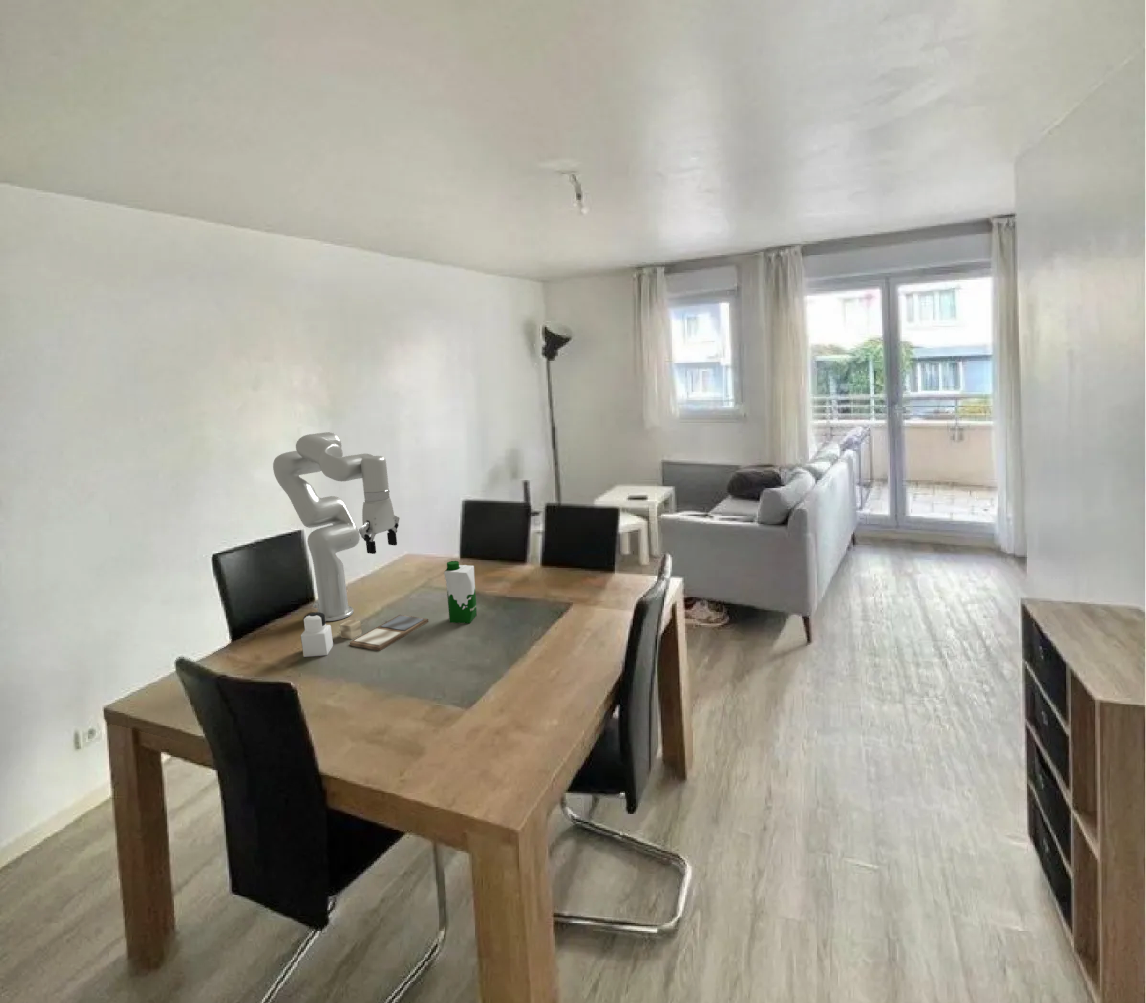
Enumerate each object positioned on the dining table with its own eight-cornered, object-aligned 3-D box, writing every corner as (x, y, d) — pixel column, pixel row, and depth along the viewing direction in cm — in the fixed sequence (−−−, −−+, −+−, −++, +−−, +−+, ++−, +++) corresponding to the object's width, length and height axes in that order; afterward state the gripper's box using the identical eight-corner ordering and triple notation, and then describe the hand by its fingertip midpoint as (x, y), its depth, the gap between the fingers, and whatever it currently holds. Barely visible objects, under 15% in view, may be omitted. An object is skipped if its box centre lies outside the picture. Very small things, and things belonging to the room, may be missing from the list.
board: (349, 645, 206) (349, 641, 206) (400, 617, 227) (399, 613, 227) (380, 650, 201) (379, 646, 201) (428, 621, 222) (428, 618, 222)
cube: (341, 637, 212) (339, 624, 211) (351, 632, 216) (349, 619, 215) (351, 639, 210) (350, 626, 209) (361, 634, 214) (360, 621, 213)
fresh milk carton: (455, 613, 228) (450, 558, 224) (480, 614, 226) (476, 559, 222) (446, 623, 220) (441, 566, 216) (471, 624, 218) (467, 567, 214)
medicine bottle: (310, 647, 205) (305, 611, 203) (333, 645, 206) (329, 609, 203) (303, 657, 198) (297, 620, 196) (327, 655, 199) (322, 618, 197)
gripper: (386, 490, 214) (391, 541, 217) (347, 501, 198) (353, 555, 202) (404, 491, 211) (409, 542, 214) (366, 502, 195) (372, 557, 199)
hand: (382, 549), depth 208 cm, fingers open, 9 cm apart
